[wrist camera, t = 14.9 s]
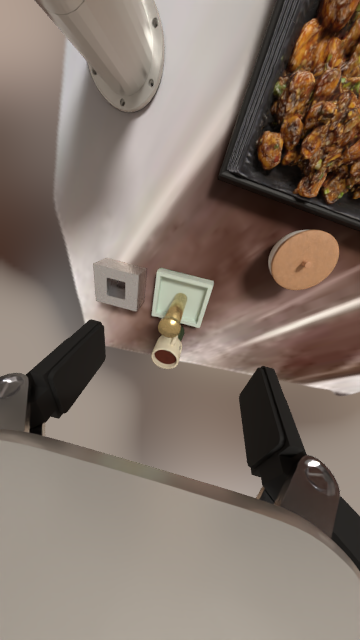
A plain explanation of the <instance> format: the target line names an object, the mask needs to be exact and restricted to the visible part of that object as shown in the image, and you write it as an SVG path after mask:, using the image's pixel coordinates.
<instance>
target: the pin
mask: <svg viewBox="0 0 360 640" xmlns="http://www.w3.org/2000/svg"><path fill="white" fill-rule="evenodd" d="M186 303H187V296H186V295H185V294H183V293H178V294H176V295H175V297H174V299H173V301H172V303H171V305H170V307H169V309H168V311H167V314H166V316H165V317H164V318H162V319H161V321H160V322H159V325H158V330H159V332H160V333H161V334H162V335H163V336H165V337H168V338H174V337H176V336H178V335H179V333H180V330H181V324H180V322H181V319H182V315H183V312H184V309H185V306H186Z"/></svg>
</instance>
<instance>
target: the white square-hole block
mask: <svg viewBox="0 0 360 640" xmlns="http://www.w3.org/2000/svg"><path fill="white" fill-rule="evenodd" d="M93 269H94V282H95V294H96V301H98V302H102V303H106V304H110V305H113V306H117V307H121V308H125V309H128V310H132V311H136V312H137V310H138V309H139V308H140V306H141V305H142V304H143V303H144V298H145V288H146V277H147V268H144V267H140V266H137V265H133V264H129V263H125V262H121V261H117V260H113V259H109V258H105V259H103V260H100V261H98V262H96V263H93ZM118 281H122V282H125V288H121V287H118Z"/></svg>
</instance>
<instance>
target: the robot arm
mask: <svg viewBox="0 0 360 640" xmlns="http://www.w3.org/2000/svg"><path fill="white" fill-rule="evenodd" d="M35 1H36V2H37V4H38V5H39V6H40V7H41V8H42V9H43V10H44V12H45V13H46V14H47V15H48V16H49V18H50V19H51V20H52V21H53V22H54V23H55V25H56V26H57V27H58V28H59V29H60V30H61V32H62V33H63V34H64V35H65V36H66V37H67V39H68V40H69V41H70V42H71V43H72V44H73V46H74V47H75V48H76V49H77V50H78V51H79V53H80V54H81V55H82V56H83V57H84V58H85V60H86V61H87V62H88V66H89V69H90V72H91V75H92V78H93V80H94V82H95V84H96V86H97V88H98V89H99V91H100V92H101V94H102V95H103V97H104V98H105V99H106V100H107V101H108V102H109V103H110V104H111V105H112V106H113V107H115V108H117V109H118V110H120V111H124V112H135V111H138V110H140V109H142V108H143V107H145V106H146V105H147V104H148V103H149V102H150V101H151V99H152V98H153V96H154V95H155V93H156V91H157V88H158V86H159V84H160V80H161V76H162V72H163V66H164V51H165V47H164V35H163V29H162V24H161V20H160V17H159V13H158V10H157V7H156V5H155V2H154V0H35ZM156 26H157V28H155V27H156ZM152 84H154V85H153V87H151V86H152ZM124 103H125V105H124ZM105 357H106V355H105V336H104V326H103V325H102V323H101V322H99V321H95V320H89V321H88V322H87V323H86V324H84V325H83V326H82V327H81V328H80V329H79V330H78V331H76V333H74V334H73V335H72V336H71V337H70V338H68V339H66V340H65V341H64V342H63V343H62V344H60V345H59V346H58V347H57V348H56V349H55V350H54V351H52V353H50V354H49V355H48V356H47V357H46V358H44V359H43V360H42V361H41V362H40V363H39V364H38V365H37V366H35V367H34V368H33V369H32V370H31V371H30V372H29V373H27V374H26V375H24V374H22V373H12V374H7V375H4V376H1V377H0V640H360V516H359V515H358V514H357V513H356V512H355V511H354V510H353V509H352V508H351V507H350V506H349V505H348V503H346V501H345V500H344V499H343V498H342V497H340V490H339V486H338V483H337V481H336V479H335V477H334V475H333V474H332V473H331V471H330V470H329V469H328V467H326V465H325V464H323V463H322V462H321V461H320V460H319V459H317V458H315V457H313V456H310V455H307V454H306V452H305V449H304V446H303V444H302V441H301V438H300V436H299V433H298V430H297V428H296V425H295V423H294V420H293V417H292V414H291V412H290V409H289V406H288V404H287V401H286V399H285V397H284V394H283V392H282V389H281V386H280V384H279V381H278V378H277V375H276V373H275V370H274V369H272V368H269V367H265V366H262V367H261V368H258V369H257V370H256V371H255V373H254V374H253V376H252V377H251V379H250V380H249V382H248V383H247V385H246V386H245V388H244V389H243V391H242V392H241V394H240V396H239V402H240V409H241V418H242V424H243V433H244V441H245V449H246V456H247V463H248V466H249V467H251V473H252V475H255V476H258V477H261V480H262V485H263V487H262V488H261V490H260V492H259V494H258V495H257V497H256V498H253V497H250V496H247V495H243V494H240V493H237V492H234V491H231V490H228V489H224V488H221V487H218V486H214V485H211V484H208V483H204V482H200V481H197V480H194V479H190V478H187V477H184V476H181V475H177V474H174V473H170V472H167V471H164V470H160V469H157V468H154V467H150V466H147V465H143V464H140V463H137V462H133V461H129V460H126V459H123V458H119V457H116V456H113V455H109V454H105V453H102V452H99V451H95V450H92V449H88V448H85V447H81V446H78V445H74V444H71V443H67V442H64V441H60V440H56V439H52V438H49V437H45V422H46V421H47V420H48V419H49V418H50V416H51V417H55V418H60V417H61V415H62V414H63V413H66V412H67V411H68V410H69V409H70V407H71V406H72V405H73V403H74V402H75V401H76V399H77V398H78V396H79V395H80V394H81V392H82V391H83V390H84V388H85V387H86V386H87V384H88V383H89V382H90V380H91V379H92V377H93V376H94V375H95V373H96V372H97V370H98V369H99V368H100V366H101V365H102V363H103V362H104V360H105Z"/></svg>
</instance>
